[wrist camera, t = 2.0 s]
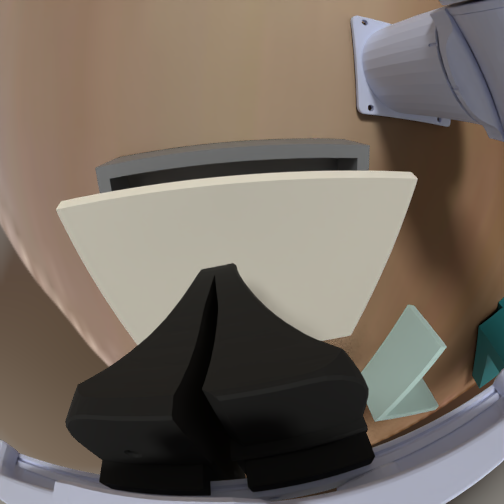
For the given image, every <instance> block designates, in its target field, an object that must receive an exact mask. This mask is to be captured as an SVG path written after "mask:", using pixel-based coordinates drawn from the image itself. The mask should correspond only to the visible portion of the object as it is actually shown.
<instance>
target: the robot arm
mask: <svg viewBox="0 0 504 504" xmlns="http://www.w3.org/2000/svg"><path fill="white" fill-rule="evenodd" d="M439 1H440V3H441V4H442V5H446V6H444V7H441V8H439V9H435V10H432V11H429V12H426V13H423V14H420V15H417V16H414V17H411V18H408V19H405V20H403V21H400V22H397V23H395V24H389V23H385V22H382V21H378V20H374V19H370V18H365V17H361V16H354V17H352V18H351V28H352V38H353V48H354V60H355V75H356V97H357V110H358V111H359V112H360V113H361V114H369V115H378V116H386V117H394V118H401V119H408V120H414V121H420V122H425V123H430V124H436V125H440V126H445V127H448V126H450V122H451V119H452V120H459V121H464V122H470V123H475V124H480V125H483V127H484V128H485V130H486V131H487V134H488V136H489V138H492V139H496V140H499V141H503V142H504V0H439ZM362 21H364V22H365V24H366V25H363V24H362ZM369 105H370V106H371V108H372V109H371V111H369V110H368V106H369ZM437 118H438V119H439V120H437ZM368 395H369V388H368V386H367V384H366V381H365V379H364V377H363V376H362V374H361V372H360V371H359V369H358V368H357V367H356V365H355V364H354V362H353V361H352V360H351V358H350V357H349V356H348V355H347V353H346V352H345V351H344V350H343V349H341V348H338V347H336V346H333V345H330V344H328V343H325V342H322V341H320V340H317V339H315V338H312V337H310V336H308V335H306V334H304V333H303V332H301V331H299V330H298V329H296V328H294V327H293V326H291V325H290V324H288V323H286V322H285V321H283V320H282V319H281V318H279V317H278V316H277V315H275V314H274V313H273V312H272V311H271V310H269V309H268V308H267V307H266V306H265V305H264V304H263V303H262V302H261V301H260V300H259V299H258V298H257V297H256V296H255V295H254V294H253V292H252V291H251V290H250V289H249V288H248V286H247V285H246V284H245V282H244V281H243V279H242V278H241V276H240V274H239V272H238V270H237V266H236V265H235V264H234V263H231V264H226V265H221V266H216V267H211V268H206V269H201V270H200V272H199V273H198V275H197V276H196V278H195V279H194V281H193V282H192V284H191V285H190V287H189V288H188V290H187V291H186V293H185V294H184V295H183V297H182V298H181V300H180V301H179V302H178V304H177V305H176V306H175V307H174V309H173V310H172V311H171V312H170V314H169V315H168V316H167V317H166V318H165V320H164V321H163V322H162V323H161V324H160V325H159V326H158V327H157V328H156V329H155V330H154V331H153V332H152V333H151V334H150V335H149V336H148V337H147V338H146V339H145V340H143V341H142V342H141V343H140V344H139V345H138V346H136V347H135V348H134V349H133V350H132V351H131V352H129V353H128V354H127V355H125V356H124V357H123V358H121V359H120V360H119V361H117V362H116V363H114V364H113V365H111V366H110V367H108V368H107V369H105V370H104V371H102V372H100V373H98V374H97V375H95V376H93V377H91V378H90V379H88V380H86V381H84V382H82V383H80V384H78V386H77V388H76V391H75V394H74V397H73V400H72V403H71V406H70V409H69V412H68V415H67V418H66V427H67V429H68V430H69V432H70V433H71V435H72V436H73V437H74V438H75V439H76V440H77V441H78V442H79V443H81V444H82V445H83V446H84V447H86V448H87V449H88V450H90V451H91V452H92V453H93V454H95V455H96V456H98V457H99V458H101V459H102V460H103V461H102V467H101V473H100V475H99V474H94V473H89V472H84V471H78V470H74V469H70V468H66V467H62V466H58V465H55V464H51V463H48V462H44V461H41V460H38V459H35V458H32V457H29V456H26V455H23V454H20V453H18V451H17V450H16V449H14V448H13V447H12V446H11V445H9V444H8V443H6V442H5V441H3V440H1V439H0V500H2V501H3V502H5V503H6V504H445V503H447V502H449V501H450V500H452V499H453V498H455V497H456V496H458V495H459V494H461V493H462V492H464V491H465V490H467V489H468V488H469V487H471V486H472V485H474V484H475V483H476V482H478V481H479V480H480V479H482V478H483V477H484V476H485V475H487V474H488V473H489V472H491V471H492V470H493V469H494V468H495V467H496V466H498V465H499V464H500V463H501V462H502V461H504V368H503V369H502V370H501V372H500V373H499V374H498V376H497V378H496V379H495V381H494V383H493V385H491V386H490V387H489V388H487V389H486V390H484V391H483V392H481V393H480V394H478V395H477V396H475V397H474V398H472V399H471V400H469V401H467V402H466V403H465V404H463V405H461V406H459V407H458V408H456V409H454V410H453V411H451V412H449V413H447V414H445V415H444V416H442V417H440V418H438V419H436V420H435V421H433V422H431V423H429V424H427V425H425V426H423V427H421V428H419V429H417V430H415V431H412V432H410V433H408V434H406V435H404V436H401V437H399V438H397V439H394V440H392V441H389V442H387V443H384V444H382V445H379V446H377V447H374V448H372V446H371V444H370V441H369V439H368V436H367V434H366V432H367V430H368V429H367V425H366V422H365V420H364V417H363V414H364V410H365V407H366V403H367V400H368ZM245 474H246V475H247V478H245ZM337 487H338V488H337ZM333 488H337V491H336V492H331V493H326V494H321V495H316V496H311V497H305V498H298V499H291V500H285V499H290V498H295V497H300V496H305V495H309V494H314V493H317V492H321V491H325V490H329V489H333ZM279 500H283V501H279ZM272 501H274V502H272Z"/></svg>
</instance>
